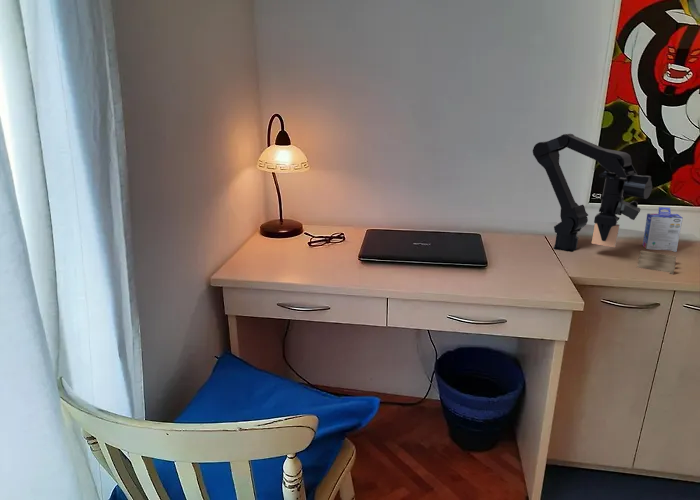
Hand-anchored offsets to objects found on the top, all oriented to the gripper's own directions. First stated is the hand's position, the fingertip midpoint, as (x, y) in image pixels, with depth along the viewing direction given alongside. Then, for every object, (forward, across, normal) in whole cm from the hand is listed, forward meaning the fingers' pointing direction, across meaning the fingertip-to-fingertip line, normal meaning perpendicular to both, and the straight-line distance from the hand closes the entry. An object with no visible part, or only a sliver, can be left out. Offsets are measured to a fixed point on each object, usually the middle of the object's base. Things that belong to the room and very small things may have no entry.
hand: (604, 239), depth 175 cm
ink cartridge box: (+6, +20, -16) cm, 26 cm away
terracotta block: (+2, 0, 0) cm, 2 cm away
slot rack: (+6, 0, -16) cm, 17 cm away
